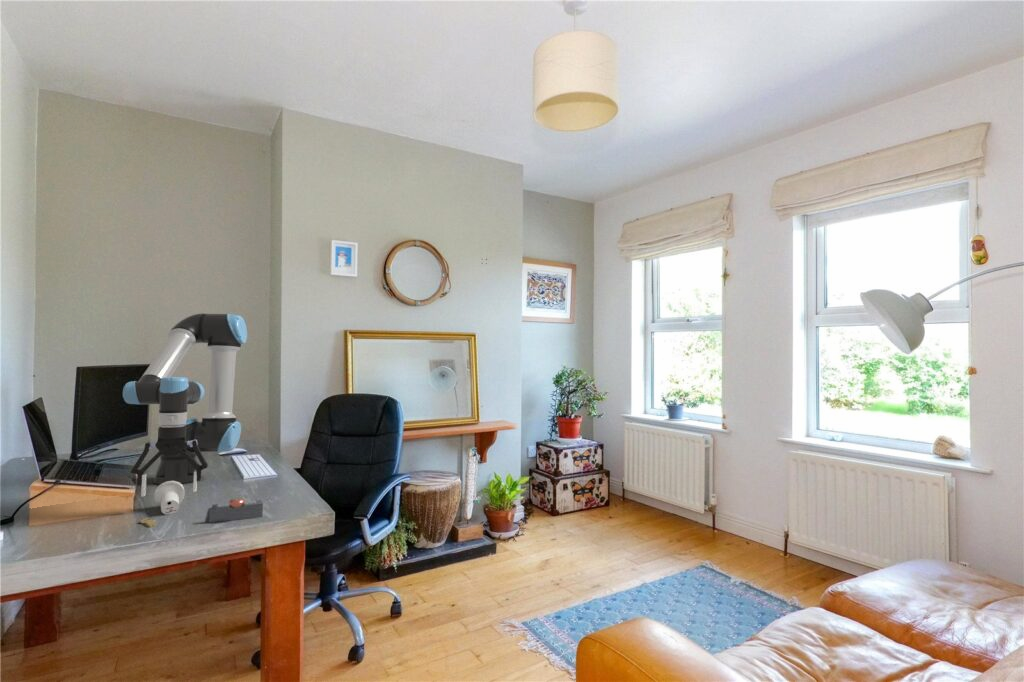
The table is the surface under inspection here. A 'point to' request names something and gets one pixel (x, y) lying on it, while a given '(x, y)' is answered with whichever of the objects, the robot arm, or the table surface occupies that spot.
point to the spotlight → (169, 496)
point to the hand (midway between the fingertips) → (169, 493)
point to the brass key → (148, 522)
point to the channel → (236, 510)
